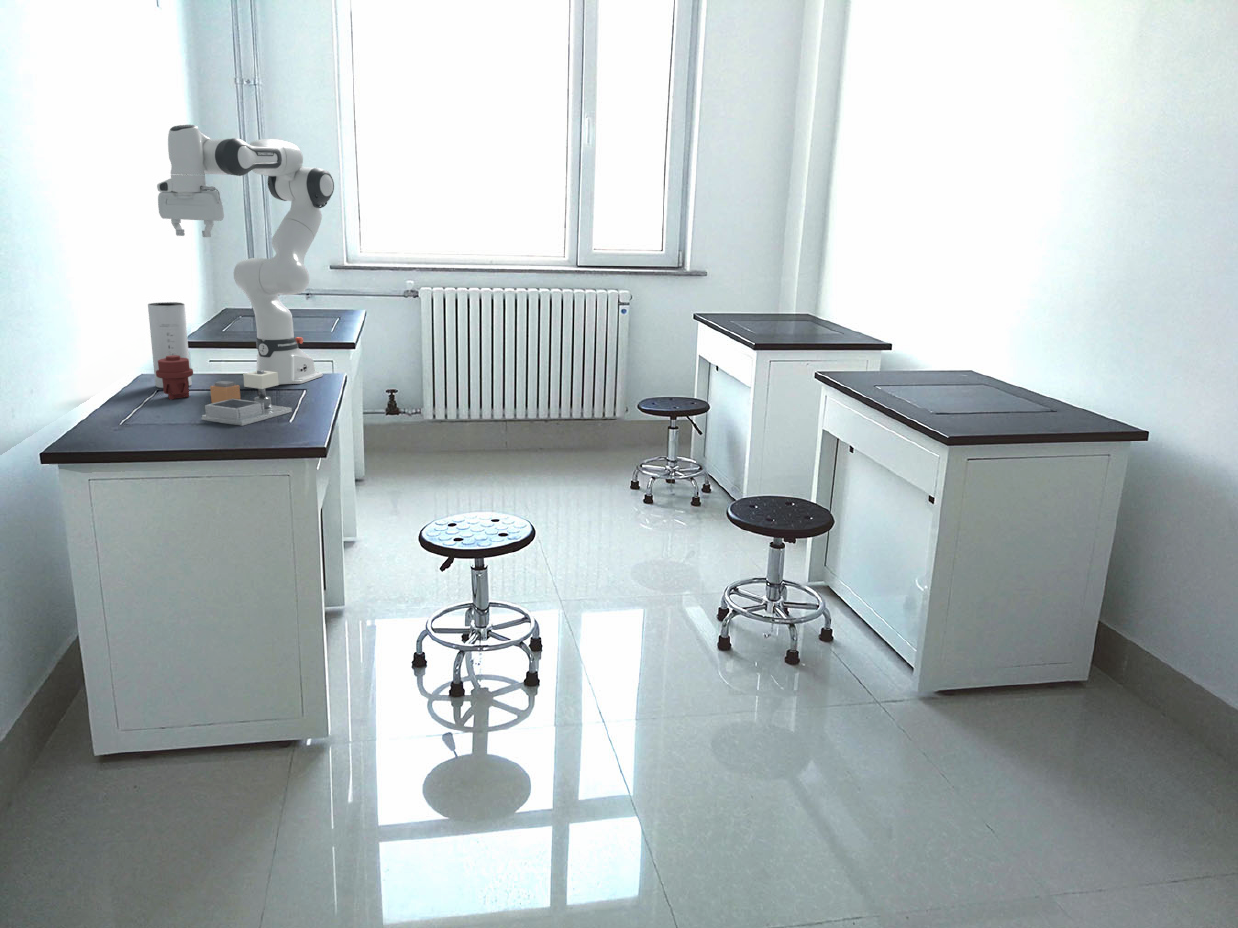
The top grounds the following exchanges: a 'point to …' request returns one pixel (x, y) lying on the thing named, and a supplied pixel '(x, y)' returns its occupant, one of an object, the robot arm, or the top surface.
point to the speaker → (167, 333)
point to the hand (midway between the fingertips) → (193, 236)
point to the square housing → (260, 379)
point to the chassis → (244, 410)
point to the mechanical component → (175, 376)
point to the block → (224, 391)
